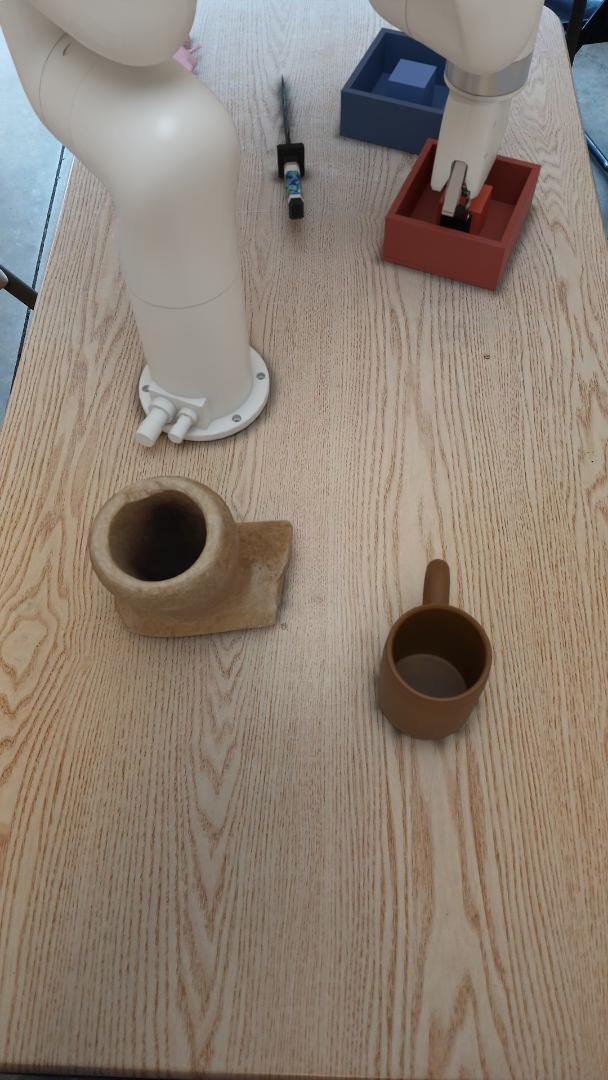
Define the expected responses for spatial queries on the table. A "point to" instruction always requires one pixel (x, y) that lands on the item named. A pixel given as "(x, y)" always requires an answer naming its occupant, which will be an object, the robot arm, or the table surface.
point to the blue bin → (387, 117)
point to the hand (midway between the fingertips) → (459, 226)
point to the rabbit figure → (187, 55)
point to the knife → (291, 168)
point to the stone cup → (187, 560)
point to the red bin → (448, 249)
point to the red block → (473, 208)
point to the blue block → (412, 82)
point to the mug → (433, 663)
